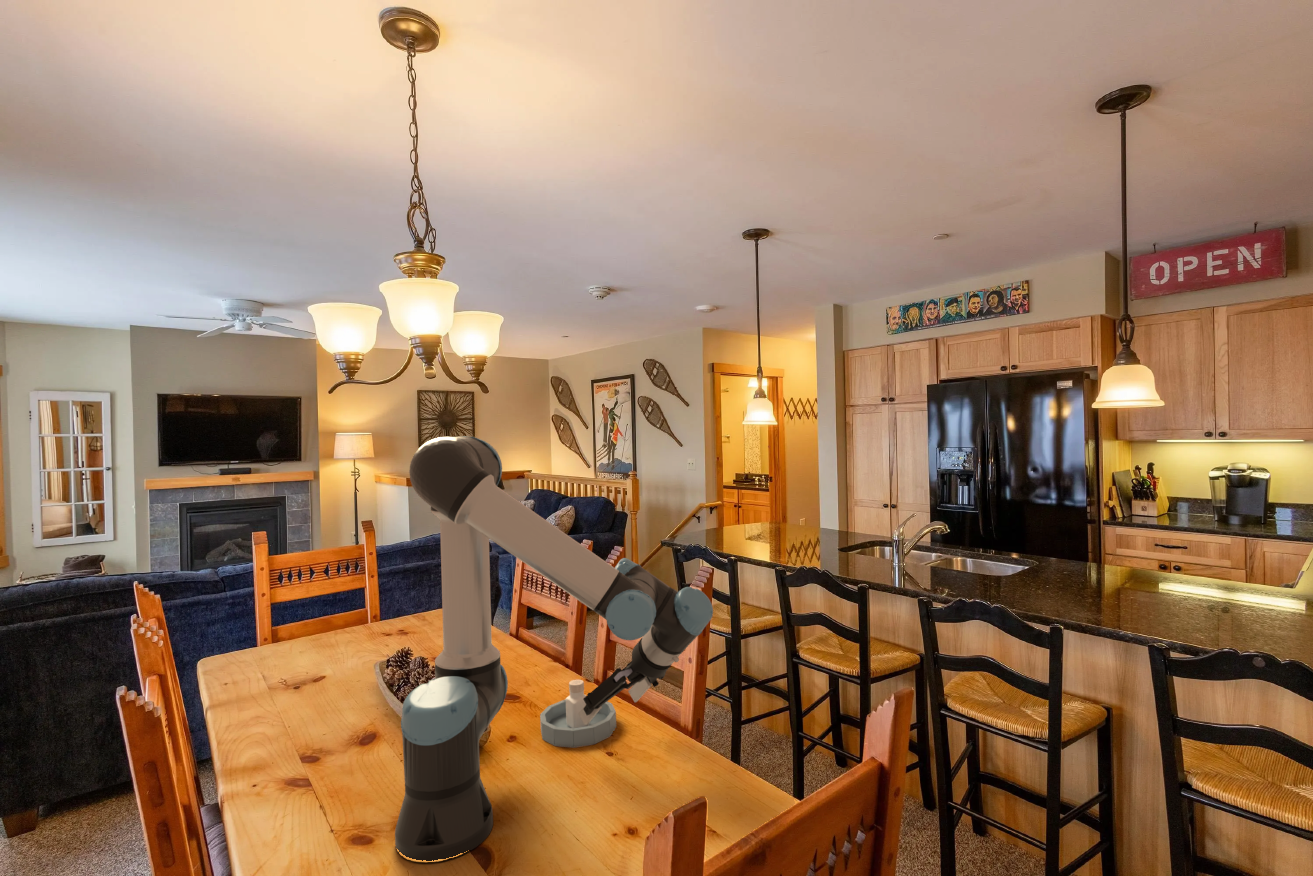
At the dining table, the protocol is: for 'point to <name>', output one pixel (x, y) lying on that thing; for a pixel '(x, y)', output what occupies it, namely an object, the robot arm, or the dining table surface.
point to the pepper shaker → (575, 704)
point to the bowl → (565, 736)
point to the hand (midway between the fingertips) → (608, 707)
